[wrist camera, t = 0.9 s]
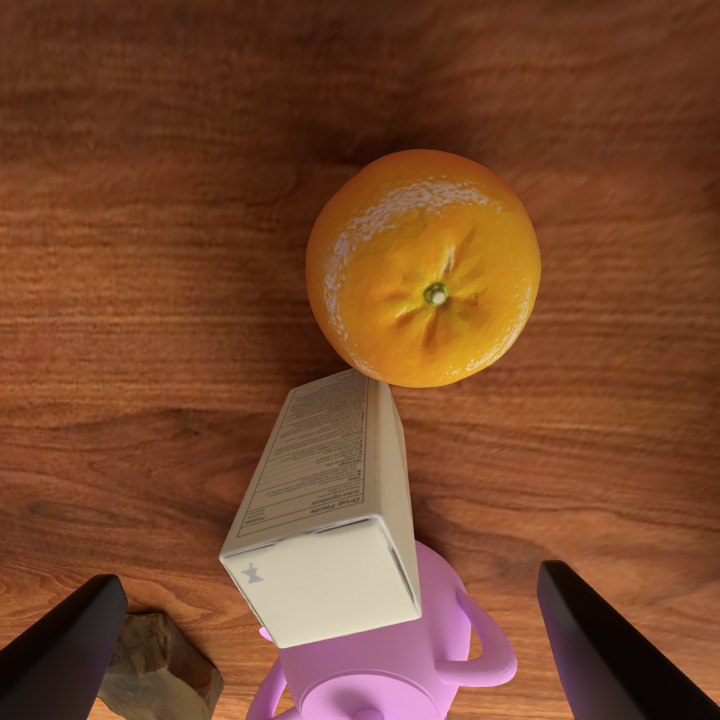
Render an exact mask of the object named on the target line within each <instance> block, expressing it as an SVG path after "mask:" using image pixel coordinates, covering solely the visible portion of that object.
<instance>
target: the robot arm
mask: <svg viewBox="0 0 720 720" xmlns="http://www.w3.org/2000/svg"><path fill="white" fill-rule="evenodd" d="M537 596H538V601H539V605H540V608H541V612H542V615H543V619H544V623H545V626H546V630H547V633H548V637H549V641H550V644H551V648H552V651H553V655H554V659H555V662H556V666H557V669H558V673H559V676H560V680H561V683H562V686H563V688H564V691H565V694H566V697H567V699H568V702H569V705H570V707H571V710H572V712H573V715H574V718H575V720H720V707H719V706H718V705H717V704H716V703H715V702H714V701H712V700H711V699H710V698H709V697H708V696H707V695H706V694H705V693H704V692H703V691H702V690H701V689H700V688H699V687H697V686H696V685H695V684H694V683H693V682H692V681H691V680H690V679H689V678H688V677H687V676H686V675H685V674H684V673H683V672H681V671H680V670H679V669H678V668H677V667H676V666H675V665H674V664H673V663H672V662H671V661H670V660H669V659H668V658H666V657H665V656H664V655H663V654H662V653H661V652H660V651H659V650H658V649H657V648H656V647H655V646H654V645H653V644H651V643H650V642H649V641H648V640H647V639H646V638H645V637H644V636H643V635H642V634H641V633H640V632H639V631H638V630H637V629H635V628H634V627H633V626H632V625H631V624H630V623H629V622H628V621H627V620H626V619H625V618H624V617H623V616H622V615H620V614H619V613H618V612H617V611H616V610H615V609H614V608H613V607H612V606H611V605H610V604H609V603H608V602H607V601H605V600H604V599H603V598H602V597H601V596H600V595H599V594H598V593H597V592H596V591H595V590H594V589H593V588H592V587H591V586H589V585H588V584H587V583H586V582H585V581H584V580H583V579H582V578H581V577H580V576H579V575H578V574H577V573H576V572H574V571H573V570H572V569H571V568H570V567H569V566H568V565H567V564H566V563H565V562H563V561H561V560H545V561H542V563H541V565H540V570H539V577H538V584H537ZM127 607H128V601H127V597H126V594H125V592H124V590H123V587H122V585H121V582H120V580H119V578H118V576H117V575H115V574H99V575H96V576H94V577H92V578H91V579H90V580H88V581H87V582H86V583H85V584H83V585H82V586H81V587H80V588H78V589H77V590H76V591H75V592H73V593H72V594H71V595H70V596H68V597H67V598H66V599H65V600H63V601H62V602H61V603H60V604H58V605H57V606H56V607H55V608H53V609H52V610H51V611H50V612H48V613H47V614H46V615H45V616H43V617H42V618H41V619H40V620H38V621H37V622H36V623H35V624H33V625H32V626H31V627H30V628H28V629H27V630H26V631H25V632H23V633H22V634H21V635H20V636H18V637H17V638H16V639H15V640H13V641H12V642H11V643H10V644H8V645H7V646H6V647H5V648H3V649H2V650H1V651H0V720H86V719H87V717H88V715H89V713H90V710H91V708H92V706H93V704H94V701H95V699H96V697H97V694H98V692H99V689H100V687H101V684H102V681H103V679H104V676H105V673H106V670H107V667H108V664H109V661H110V658H111V655H112V653H113V650H114V647H115V644H116V641H117V638H118V635H119V632H120V629H121V626H122V624H123V621H124V618H125V615H126V612H127Z"/></svg>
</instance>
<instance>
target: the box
mask: <svg viewBox="0 0 720 720" xmlns="http://www.w3.org/2000/svg"><path fill="white" fill-rule="evenodd" d="M219 559H220V561H221V562H222V564H223V565H224V566H225V568H226V570H227V571H228V573H229V574H230V576H231V578H232V579H233V581H234V583H235V584H236V586H237V588H238V589H239V591H240V592H241V594H242V595H243V597H244V598H245V600H246V601H247V603H248V605H249V606H250V608H251V609H252V611H253V612H254V614H255V615H256V617H257V618H258V620H259V621H260V623H261V624H262V626H263V627H264V628H265V630H266V631H267V633H268V634H269V636H270V637H271V639H272V641H273V642H274V644H275V645H276V646H277V647H278V648H287V647H291V646H297V645H301V644H306V643H311V642H316V641H320V640H325V639H330V638H335V637H339V636H345V635H349V634H353V633H358V632H362V631H367V630H371V629H375V628H380V627H384V626H388V625H393V624H397V623H402V622H406V621H411V620H415V619H418V618H420V617H421V615H422V608H421V597H420V586H419V577H418V567H417V557H416V548H415V539H414V529H413V519H412V509H411V499H410V491H409V481H408V471H407V461H406V450H405V440H404V430H403V426H402V423H401V420H400V417H399V414H398V411H397V408H396V405H395V402H394V399H393V396H392V394H391V391H390V388H389V386H388V383H385V382H383V381H380V380H376V379H373V378H371V377H369V376H366V375H364V374H363V373H361V372H359V371H358V370H356V369H355V368H352V369H349V370H345V371H342V372H339V373H336V374H334V375H331V376H328V377H325V378H322V379H319V380H316V381H313V382H310V383H307V384H305V385H302V386H299V387H296V388H293V389H291V390H290V391H289V393H288V395H287V398H286V400H285V402H284V404H283V407H282V409H281V411H280V414H279V416H278V419H277V421H276V423H275V426H274V428H273V430H272V433H271V435H270V437H269V440H268V442H267V444H266V447H265V449H264V451H263V454H262V456H261V458H260V461H259V463H258V466H257V468H256V470H255V472H254V475H253V477H252V479H251V482H250V484H249V486H248V489H247V491H246V493H245V496H244V498H243V500H242V503H241V505H240V507H239V510H238V512H237V514H236V517H235V519H234V521H233V524H232V526H231V528H230V531H229V533H228V535H227V537H226V540H225V542H224V544H223V547H222V549H221V552H220V554H219Z"/></svg>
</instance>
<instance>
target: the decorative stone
mask: <svg viewBox="0 0 720 720" xmlns="http://www.w3.org/2000/svg"><path fill="white" fill-rule="evenodd" d="M223 689H224V681H223V678H222V677H221V675H220V672H219V671H218V669H216V668H215V667H214V666H213V665H211V664H210V663H209V662H208V661H207V660H206V659H205V658H204V657H203V656H202V655H201V654H200V653H199V652H198V651H197V650H196V649H195V648H194V647H193V646H192V645H191V643H190V642H189V641H188V639H187V638H186V637H185V636H184V635H183V633H182V632H181V631H180V630H179V629H178V627H177V626H176V625H175V623H174V622H173V621H172V620H171V619H170V618H169V616H168V615H167V614H165V613H152V614H144V615H133V614H128V613H126V615H125V618H124V621H123V624H122V626H121V629H120V632H119V635H118V638H117V641H116V644H115V647H114V650H113V653H112V655H111V658H110V661H109V664H108V667H107V670H106V673H105V676H104V679H103V681H102V684H101V687H100V689H99V692H98V694H97V697H98V698H99V699H101V700H102V701H103V702H104V703H105V704H106V705H107V706H108V708H109V709H110V710H111V711H113V712H114V713H116V714H117V715H119V716H122V717H124V718H125V719H127V720H211V719H212V715H213V712H214V709H215V706H216V703H217V701H218V699H219V697H220V694H221V693H222V691H223Z"/></svg>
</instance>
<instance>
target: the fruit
mask: <svg viewBox="0 0 720 720" xmlns="http://www.w3.org/2000/svg"><path fill="white" fill-rule="evenodd" d="M305 267H306V286H307V293H308V297H309V301H310V305H311V308H312V311H313V314H314V317H315V319H316V321H317V323H318V325H319V326H320V328H321V330H322V332H323V334H324V335H325V337H326V338H327V340H328V341H329V343H330V344H331V345H332V347H333V348H334V349H335V351H336V352H337V353H338V354H339V355H340V356H341V357H342V358H343V359H344V360H345V361H346V362H347V363H348V364H349V365H351V366H352V367H353V368H355V369H356V370H358V371H359V372H361V373H363V374H364V375H366V376H369V377H371V378H373V379H376V380H380V381H383V382H385V383H389V384H393V385H398V386H403V387H417V388H421V387H436V386H442V385H447V384H450V383H453V382H456V381H458V380H461V379H463V378H465V377H467V376H469V375H472V374H474V373H476V372H478V371H480V370H482V369H484V368H486V367H487V366H489V365H490V364H492V363H494V362H495V361H496V360H497V359H499V358H500V357H501V356H502V355H503V354H504V353H505V352H506V351H507V350H508V349H509V348H510V347H511V346H512V345H513V343H514V342H515V341H516V339H517V337H518V336H519V334H520V333H521V331H522V329H523V328H524V326H525V324H526V322H527V320H528V318H529V316H530V314H531V312H532V310H533V306H534V303H535V299H536V296H537V292H538V287H539V282H540V276H541V258H540V253H539V246H538V242H537V238H536V234H535V231H534V228H533V226H532V223H531V221H530V218H529V216H528V214H527V212H526V209H525V207H524V205H523V203H522V202H521V200H520V199H519V197H518V196H517V195H516V193H515V192H514V190H513V189H512V188H511V187H510V186H509V185H508V184H507V183H506V182H505V181H504V180H502V179H501V178H500V177H499V176H498V175H497V174H495V173H494V172H493V171H492V170H490V169H489V168H487V167H485V166H483V165H481V164H479V163H477V162H475V161H472V160H470V159H467V158H464V157H462V156H459V155H456V154H453V153H448V152H443V151H438V150H427V149H411V150H405V151H400V152H396V153H392V154H389V155H386V156H383V157H381V158H379V159H377V160H375V161H374V162H372V163H370V164H368V165H367V166H366V167H364V168H363V169H362V170H361V171H360V172H358V173H357V174H356V175H355V176H354V177H353V178H351V179H350V180H349V181H348V182H347V183H345V184H344V185H343V186H342V187H341V188H340V190H339V191H338V192H337V193H336V194H334V195H333V196H332V197H331V199H330V200H329V201H328V202H327V204H326V205H325V206H324V208H323V209H322V211H321V213H320V215H319V216H318V218H317V220H316V222H315V224H314V226H313V229H312V232H311V235H310V237H309V241H308V244H307V252H306V265H305Z"/></svg>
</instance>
